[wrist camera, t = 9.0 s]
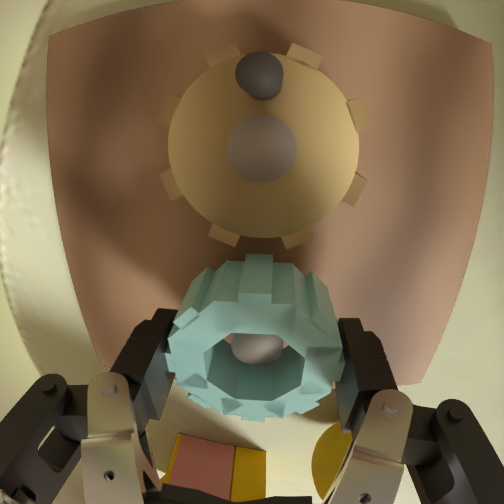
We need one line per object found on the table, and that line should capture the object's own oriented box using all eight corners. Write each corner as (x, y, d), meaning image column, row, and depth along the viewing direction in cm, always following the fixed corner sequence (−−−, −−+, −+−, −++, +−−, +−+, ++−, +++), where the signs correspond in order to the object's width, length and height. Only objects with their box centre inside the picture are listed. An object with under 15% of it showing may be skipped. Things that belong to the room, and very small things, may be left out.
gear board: (468, 49, 9) (561, 34, 3) (411, 360, 17) (442, 443, 11) (73, 41, 10) (-23, 26, 5) (113, 345, 18) (69, 420, 12)
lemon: (303, 405, 19) (305, 511, 12) (382, 387, 18) (407, 491, 11) (316, 442, 21) (319, 528, 14) (383, 427, 20) (400, 512, 13)
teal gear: (347, 257, 10) (363, 296, 8) (323, 377, 13) (328, 421, 11) (174, 250, 11) (149, 286, 8) (190, 370, 13) (178, 412, 11)
